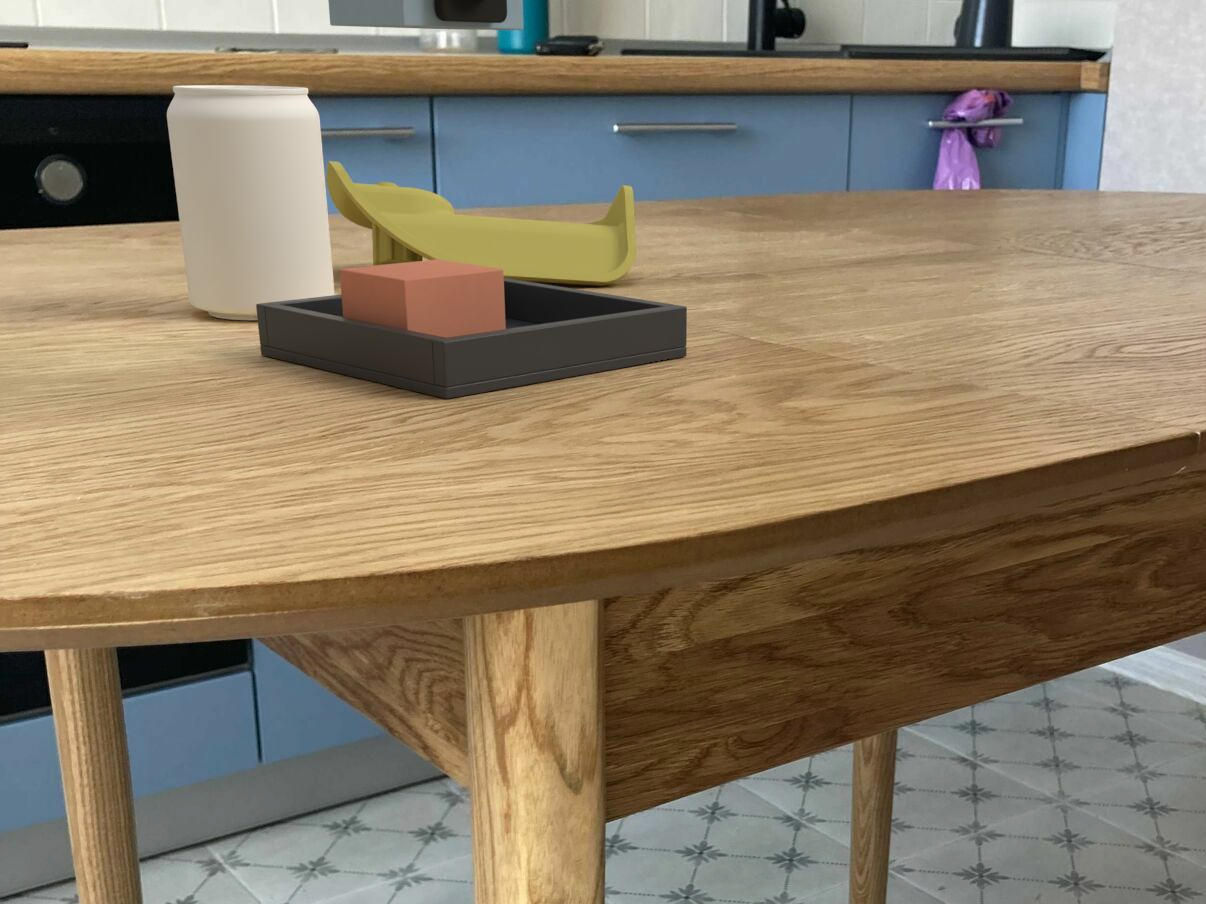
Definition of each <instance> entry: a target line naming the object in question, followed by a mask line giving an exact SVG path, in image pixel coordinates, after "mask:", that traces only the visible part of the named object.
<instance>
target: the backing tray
mask: <svg viewBox="0 0 1206 904" xmlns="http://www.w3.org/2000/svg"><path fill="white" fill-rule="evenodd" d="M504 300H505V325H506V329H504V330H497V331H490V332H483V333H475V334H468V335H461V336H454V337H447V338H445V337H440V336H435V335H430V334H425V333H420V332H415V331H410V330H405V329H400V328H395V327H390V326H385V325H380V324H375V323H370V322H365V321H360V320H355V319H350V318H345V317H343V308H342V295H341V294H335V295H332V296H323V297H314V298H305V299H296V300H287V301H278V302H269V303H260V304H256V309H257V319H258V320H257V327H258V328H257V329H258V337H259V345H260V346H259V348H260V354H261V356H262V357H263V356H264V357H268V358H272V359H277V360H280V361H284V362H289V363H294V364H297V365H302V366H306V367H311V368H314V369H319V370H323V371H326V372H327V371H328V372H332V373H335V374H340V375H343V376H344V375H345V376H349V377H353V378H358V379H360V380H366V381H369V382H373V383H378V384H381V385H386V386H391V387H394V388H399V389H403V390H408V391H412V392H417V393H421V394H425V395H429V396H433V397H438V398H442V399H447V400H448V399H453V398H458V397H464V396H471V395H475V394H482V393H488V392H492V391H499V390H504V389H510V388H516V387H521V386H527V385H533V384H538V383H544V382H549V381H555V380H562V379H567V378H572V377H578V376H583V375H584V376H585V375H590V374H595V373H600V372H606V371H612V370H617V369H623V368H628V367H634V366H640V365H646V364H651V363H650V362H652V363H656V362H655V361H657V362H662V361H661V360H663V361H668V360H667V359H669V360H673V359H679V358H685V357H687V328H688V327H687V323H688V322H687V321H688V320H687V318H688V311H687V310H688V308H687V306H685V305H681V304H680V305H679V304H672V303H668V302H667V303H666V302H660V301H654V300H647V299H639V298H634V297H628V296H621V295H616V294H610V293H603V292H597V291H590V290H583V289H579V288H578V289H577V288H570V287H565V286H558V285H552V284H546V283H541V282H533V281H520V280H514V279H508V278H507V279H506V278H504ZM645 363H646V364H645Z"/></svg>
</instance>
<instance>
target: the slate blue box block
mask: <svg viewBox="0 0 1206 904" xmlns="http://www.w3.org/2000/svg"><path fill="white" fill-rule="evenodd" d="M328 11H329V13H328V14H329V25H330V26H333V27H361V28H362V27H364V28H368V27H369V28H390V29H391V28H395V29H424V30H425V29H427V30H463V31H464V30H470V31H471V30H474V31H476V30H477V31H524V12H523V11H524V7H523V0H507V17H506V19H505V21H504V22H502V23H481V22H454V21H441V20H440V19H439V18H438V17H437V15H436V13H435V0H328Z"/></svg>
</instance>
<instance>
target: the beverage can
mask: <svg viewBox="0 0 1206 904" xmlns="http://www.w3.org/2000/svg"><path fill="white" fill-rule="evenodd" d="M172 92H173V93H174V95H173V98H172V100H171V101H170V103H169V105H168V107H167V111H166V121H167V129H168V139H169V145H170V153H171V154H170V155H171V162H172V168H173V169H172V170H173V178H174V187H175V194H176V203H177V212H178V221H179V228H180V235H181V243H182V253H183V261H184V268H185V269H184V270H185V276H186V284H187V285H186V286H187V293H188V294H187V295H188V300H189V303H190V304H191V306H193V307H194V308H196V309H198V310H201V311H204V312H207V313H208V315H209V316H211V317H212V318H218V319H223V320H224V319H225V320H232V321H258V319H257V309H256V304H260V303H269V302H278V301H287V300H296V299H305V298H314V297H323V296H332V295H336V294H335V283H334V282H335V281H334V273H333V271H334V270H333V261H332V260H333V259H332V248H331V247H332V246H331V237H330V235H331V234H330V226H329V225H330V224H329V213H328V200H327V199H328V198H327V189H326V178H325V177H326V176H325V165H324V153H323V142H322V141H323V140H322V130H321V119H320V113H319V111H318V109H317V107H316V106H315V105H314V103H313V102H312V100H311V99H310V98H309V95H308V94H309V88H308V87H303V86H283V85H235V84H234V85H231V84H229V85H228V84H227V85H226V84H223V85H222V84H220V85H218V84H216V85H215V84H212V85H211V84H210V85H209V84H207V85H206V84H200V85H199V84H198V85H197V84H195V85H193V84H192V85H191V84H189V85H173V86H172Z"/></svg>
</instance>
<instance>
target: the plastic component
mask: <svg viewBox="0 0 1206 904" xmlns="http://www.w3.org/2000/svg"><path fill="white" fill-rule="evenodd" d="M325 177H326V178H325V183H326V186H327V191H328V194H329V196H330V199H331V201H332V202H333V204H334V206H335V208H336V209H337V211H338V212H339V213H340V214H341V216H343V217H344V218H345V219H346V220H348V221H349V222H350V223H353V224H355V225H357V226H360V227H362V228H366V229H368V230H371V236H372V266H376V265H386V264H396V263H406V262H417V261H424V260H423V258H424V259H426V260H437V259H439V260H446V261H452V262H459V263H465V264H472V265H479V266H485V267H492V268H498V269H503V274H504V278H506V279H507V278H508V279H514V280H520V281H527V282H533V283H548V284H550V283H551V284H567V285H582V286H583V285H584V286H595V287H596V286H598V287H603V286H609V285H612V284H615V283H617V282H618V281H621V280H622V279H623V278H624V277H625V276H626V275H627V274H628V273H629V272H630V270H631V268H632V266H633V265H634V262H635V260H636V255H637V252H638V251H637V234H636V218H635V217H636V216H635V200H634V199H635V198H634V190H633V187H632V185H625V184H624V185H620V188H619V190H618V191H617V194H616V195H615V198H614V199H613V202H612V204H611V205H610V208H609V210H608V212H607V213H606V216H605V217H603V218H602V219H599V220H597V221H593V222H584V223H583V222H582V223H581V222H580V223H579V222H565V221H551V220H541V219H540V220H538V219H526V218H512V217H498V216H485V215H472V214H471V215H470V214H457V213H456V211H455V208H454V206H453V205H452V204H451V202H449V201H448V199H446V198H445V197H443V196H442V195H440V194H437V193H435V192H432V191H430V190H426V189H422V188H417V187H409V186H408V187H406V186H398V185H397V184H396V183H395V182H390V181H379V182H376V183H375V184H373V183H372V184H371V183H359V182H354V181H353V180H352V178H351V177H350V175H349V174H348V172H347V171H346V169H345V167H344V166H343V164H342V163H341V162H340V161H332V160H328V161H327V163H326V176H325Z"/></svg>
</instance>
